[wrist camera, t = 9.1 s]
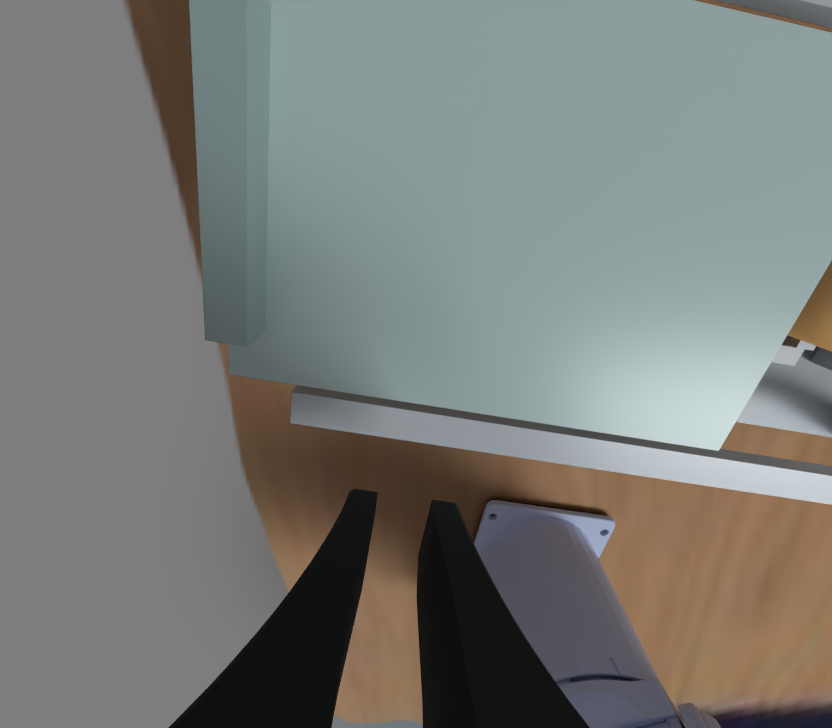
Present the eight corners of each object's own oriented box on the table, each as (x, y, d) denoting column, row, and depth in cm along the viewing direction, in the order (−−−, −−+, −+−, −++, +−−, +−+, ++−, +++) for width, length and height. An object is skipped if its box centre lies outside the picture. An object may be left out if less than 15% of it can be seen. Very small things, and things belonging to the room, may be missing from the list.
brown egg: (762, 319, 17) (885, 364, 13) (690, 304, 17) (790, 343, 12) (808, 240, 16) (966, 258, 11) (731, 222, 16) (860, 233, 11)
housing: (873, 436, 21) (1071, 540, 15) (333, 348, 19) (290, 423, 13) (1096, 148, 16) (1571, 114, 9) (367, -16, 14) (322, -204, 7)
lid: (701, 436, 13) (748, 476, 11) (240, 363, 12) (207, 393, 10) (905, 72, 9) (1036, 38, 7) (237, -83, 8) (180, -169, 6)
